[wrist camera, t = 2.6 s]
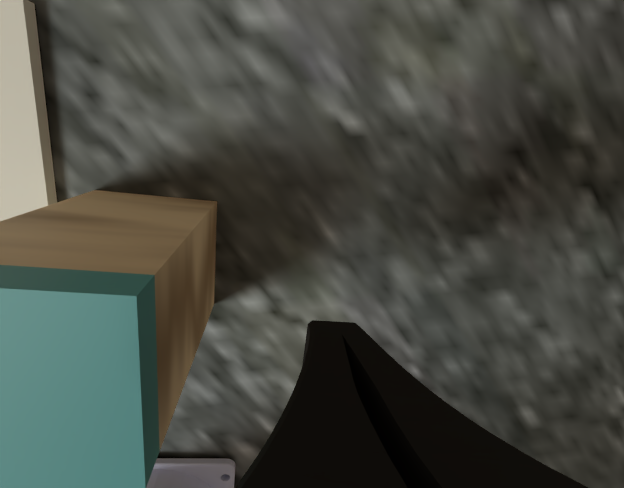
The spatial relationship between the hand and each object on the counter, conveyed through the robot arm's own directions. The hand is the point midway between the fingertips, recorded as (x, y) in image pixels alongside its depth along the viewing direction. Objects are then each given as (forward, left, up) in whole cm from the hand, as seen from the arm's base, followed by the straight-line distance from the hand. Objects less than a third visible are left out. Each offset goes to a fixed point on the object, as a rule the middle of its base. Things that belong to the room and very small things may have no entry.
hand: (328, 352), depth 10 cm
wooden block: (0, +7, -7) cm, 10 cm away
